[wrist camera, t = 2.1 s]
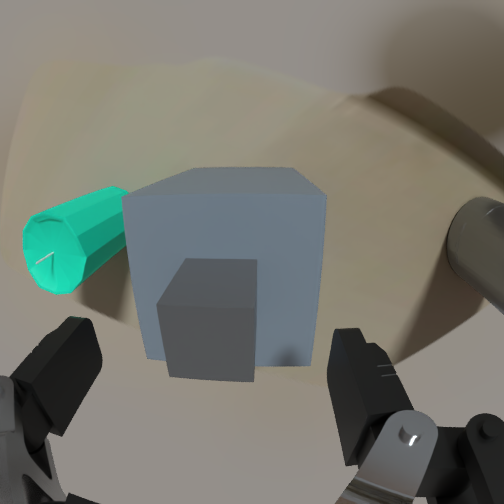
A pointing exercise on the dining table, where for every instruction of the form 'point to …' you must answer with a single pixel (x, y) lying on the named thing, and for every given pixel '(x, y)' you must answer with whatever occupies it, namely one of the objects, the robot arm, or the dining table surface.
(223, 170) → the cover
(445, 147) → the dining table surface
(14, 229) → the dining table surface
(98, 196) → the candle
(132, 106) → the dining table surface
